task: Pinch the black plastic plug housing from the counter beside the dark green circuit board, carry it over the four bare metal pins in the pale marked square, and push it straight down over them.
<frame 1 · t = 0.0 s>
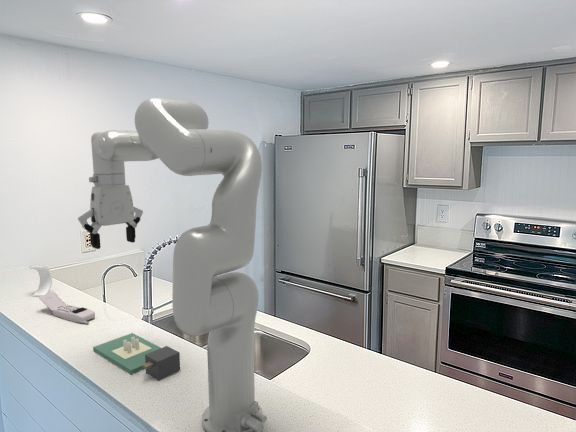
hand: (114, 244, 113), 31 cm above the worktop, tool pointing down, fingers open, 9 cm apart
headphone stand: (43, 294, 166), on the worktop
plug housing: (163, 371, 108), on the worktop
mobile phone: (69, 316, 145), on the worktop
header board: (131, 353, 118), on the worktop
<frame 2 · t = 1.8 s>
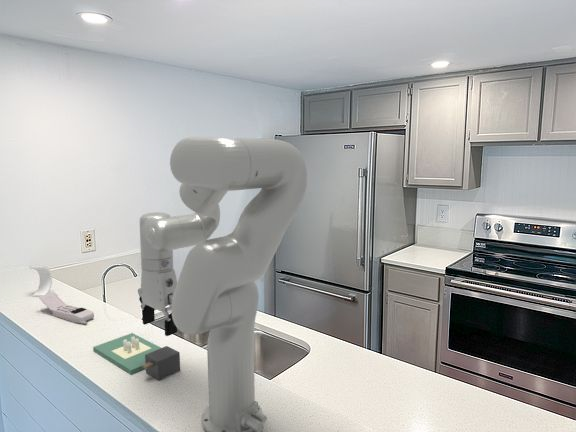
hand: (159, 328, 107), 12 cm above the worktop, tool pointing down, fingers open, 9 cm apart
nothing on the worktop moved.
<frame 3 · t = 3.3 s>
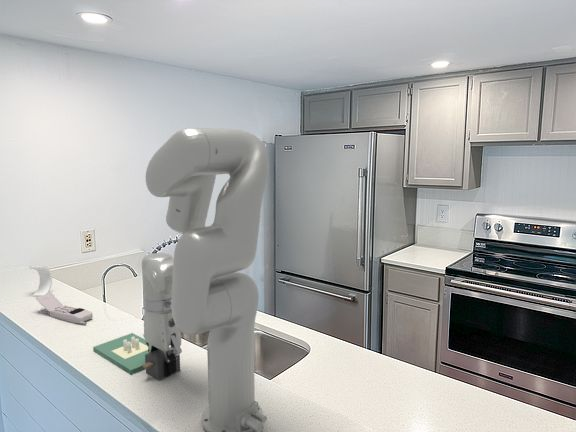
hand: (163, 369, 108), 1 cm above the worktop, tool pointing down, fingers closed on plug housing, 5 cm apart
plug housing: (163, 371, 108), on the worktop, touching gripper
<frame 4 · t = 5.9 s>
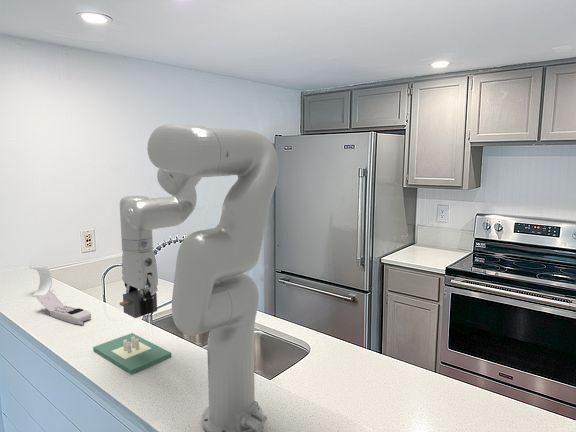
hand: (140, 309, 112), 14 cm above the worktop, tool pointing down, fingers closed on plug housing, 5 cm apart
plug housing: (140, 311, 112), point 14 cm above the worktop, touching gripper
everything else where it was.
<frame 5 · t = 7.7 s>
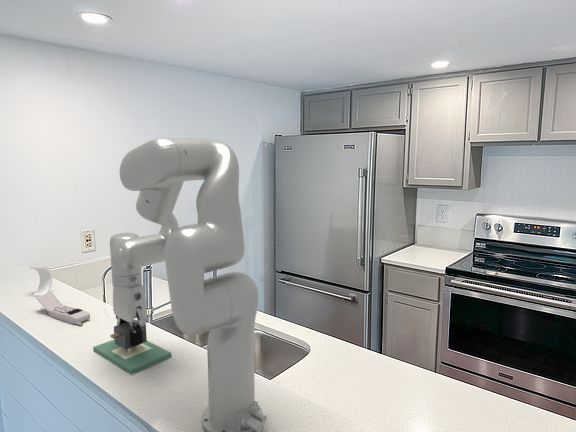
hand: (130, 340, 117), 4 cm above the worktop, tool pointing down, fingers closed on plug housing, 5 cm apart
plug housing: (130, 342, 117), point 3 cm above the worktop, touching gripper
when the fingers open (2 cm above the worktop, at t = 8.4 s): plug housing stays where it is, resting on header board.
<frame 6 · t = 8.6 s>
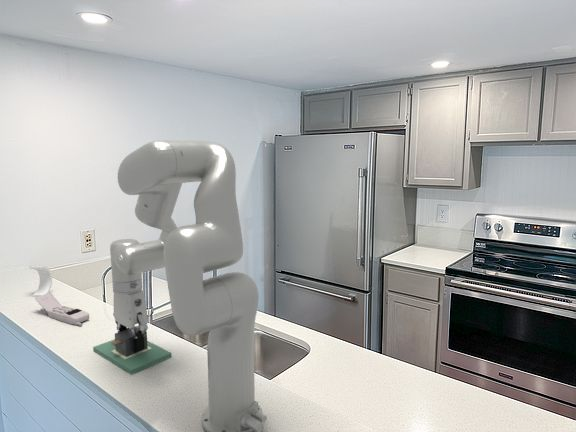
hand: (131, 346, 117), 2 cm above the worktop, tool pointing down, fingers open, 6 cm apart
plug housing: (131, 349, 118), point 1 cm above the worktop, touching header board
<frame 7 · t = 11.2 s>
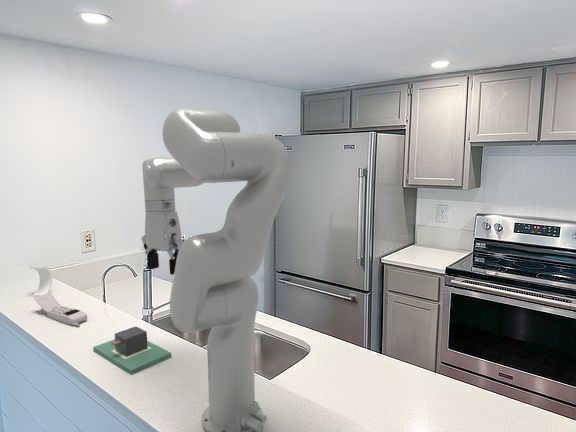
hand: (164, 270, 112), 25 cm above the worktop, tool pointing down, fingers open, 9 cm apart
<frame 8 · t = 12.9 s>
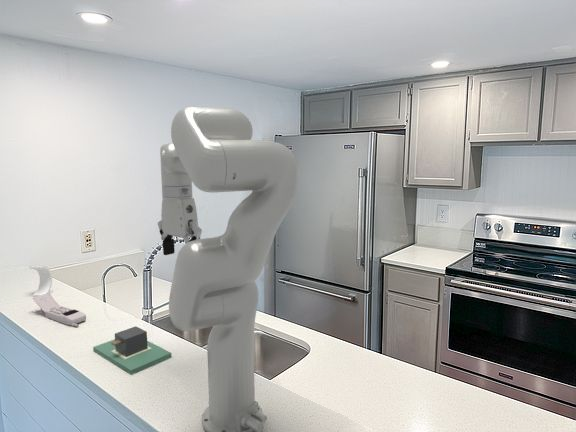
hand: (180, 257, 111), 28 cm above the worktop, tool pointing down, fingers open, 9 cm apart
at the end: plug housing 0.0 cm off-centre on the header board, point 1.3 cm above the header board's base; plug housing tilted 0°; the gripper is holding nothing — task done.
